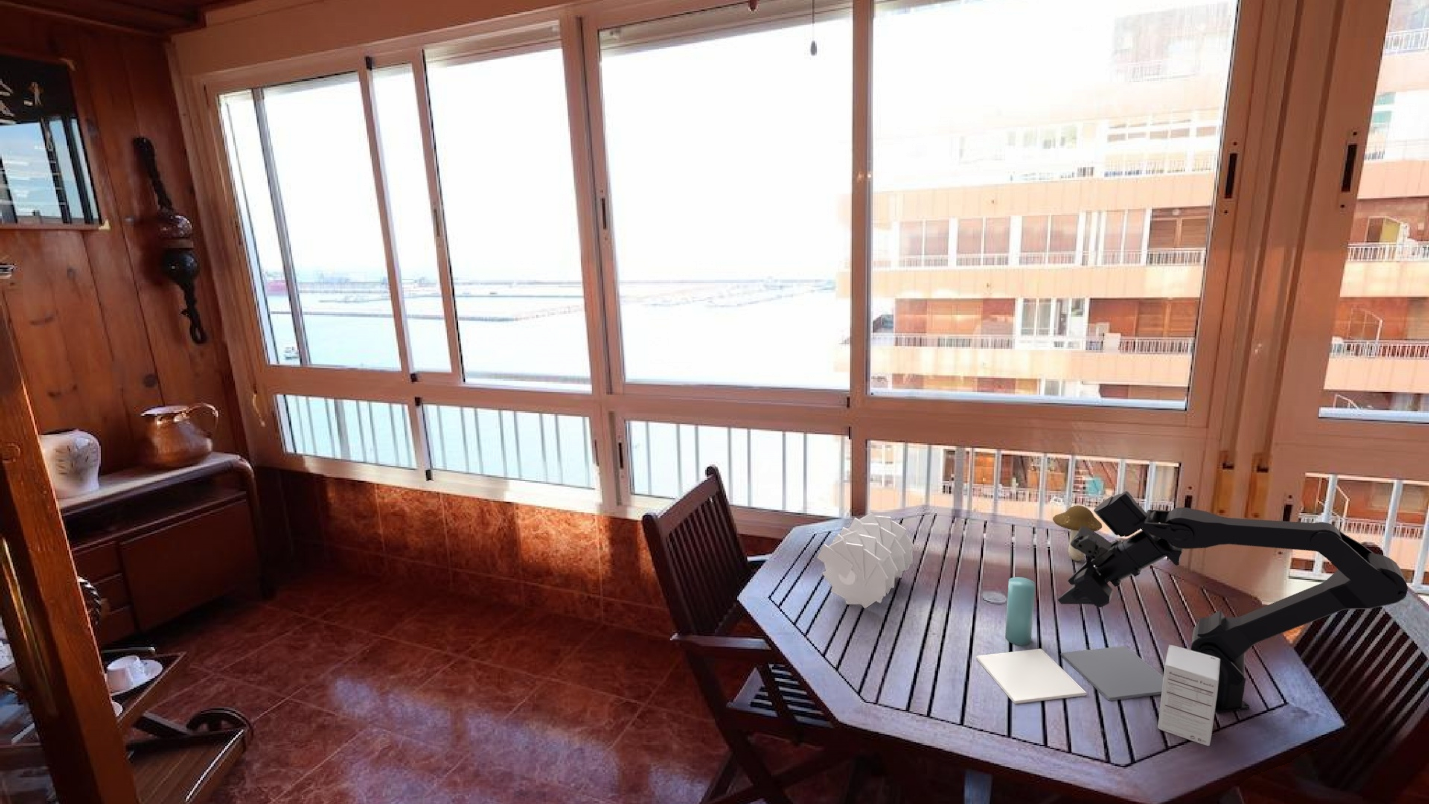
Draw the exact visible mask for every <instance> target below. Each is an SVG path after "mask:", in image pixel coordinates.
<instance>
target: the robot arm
mask: <svg viewBox="0 0 1429 804" xmlns="http://www.w3.org/2000/svg"><path fill="white" fill-rule="evenodd" d="M1093 513H1095V514H1096V516H1098V518H1099V519H1100V520H1101V521H1102V522H1103V524H1105V525H1106V526H1107V527H1108V528H1109V530H1110V531H1112V533H1113V534H1114V535H1116V536H1119V537H1120V538H1123V537H1125V538H1126V537H1128V538H1126V539H1124V540H1121V539H1119V540H1118V539H1115V540H1114V541H1111V542H1110V541H1109V540H1107V539H1106V538H1105V537H1104V536H1102V535H1101V534H1099V533H1097V531H1092V530H1091V529H1089V528H1087V527H1085V526H1082V527H1081V528H1080V530H1079V531H1078V532H1077V534H1076V535H1075V536H1074V538H1073V540H1072V541H1071V543H1070V545H1071V546H1072V547H1073V548H1075V549H1077V550H1079V551H1080V552H1082V553H1084V556H1085V555H1086V562H1085V563H1083V565H1082V566H1081V567H1080V568H1079V569H1078V570H1076V572H1074V573H1073V574H1072V575H1071V576H1070V577H1069V578H1068V579H1067V582H1068V583H1069V585H1072V586H1071V587H1069V589H1068V590H1066V591H1065V592H1064V593H1063V594H1062V595H1061V596H1059V597H1058V599H1057V601H1058V602H1059V603H1060V604H1061V605H1092V606H1093V605H1094V606H1095V607H1097V608H1100V609H1101V608H1103V607H1105V606H1107V605H1108V604H1110V601H1111V600H1112V596H1113V590H1114V589H1113V588H1112V587H1111V586H1110V585H1109V584H1108V583H1109V582H1110V584H1111V585H1113V586H1114V587H1115V588H1116V587H1118V586H1121V582H1122V581H1123V580H1125V579H1126V578H1128V577H1131V576H1133V577H1134V578H1135V577H1137V576H1139V575H1140V574H1141V571H1142V570H1144V569H1147V568H1148V567H1149V566H1152V565H1154V564H1155V563H1157V562H1159V561H1161V560H1163V559H1166V558H1167V559H1168V560H1170V561H1171V562H1172V564H1173V565H1174V566H1180V562H1181V558H1182V557H1181V556H1182V554H1183V550H1188V549H1190V550H1191V549H1193V550H1194V549H1207V548H1212V547H1217V546H1223V545H1233V546H1246V547H1247V546H1248V547H1257V548H1270V549H1271V548H1272V549H1280V550H1281V549H1282V550H1296V551H1309V552H1317V553H1319V554H1320V555H1321V556H1323V557H1324V558H1326V560H1328V561H1329V562H1330V563H1331V564H1332V565H1333V566H1334V567H1335V568H1336V569H1337V570H1335V571H1334V573H1333V574H1331V575H1330V576H1329V577H1328V578H1327V579H1326V580H1325V581H1322V582H1321V583H1318V584H1315V585H1314V586H1311V587H1309V588H1306V589H1304V590H1302V591H1299V592H1297V593H1293V594H1292V595H1289V596H1287V597H1284V598H1281V599H1280V600H1277V601H1274V602H1272V603H1270V604H1267V605H1265V606H1262V607H1259V608H1257V609H1254V610H1252V611H1249V612H1248V613H1246V614H1243V615H1241V616H1234V617H1233V616H1230V617H1229V616H1228V617H1226V616H1225V615H1224V613H1223V611H1221V610H1218V611H1216V612H1213V614H1211V615H1209V616H1206V617H1199V618H1198V623H1197V624H1195V626H1194V628H1193V631H1192V638H1191V646H1190V650H1192V651H1195V652H1199V653H1203V654H1207V655H1210V656H1214V657H1217V658H1219V659H1220V670H1219V682H1218V691H1217V699H1216V706H1215V712H1216V713H1226V712H1228V713H1229V712H1235V711H1243V710H1250V705H1249V704H1248V703H1247V702H1245V701H1244V696H1245V695H1244V694H1245V689H1246V688H1245V687H1246V681H1247V678H1246V677H1245V673H1246V671H1245V670H1246V669H1245V668H1246V667H1245V665H1246V664H1245V661H1246V660H1245V659H1246V658H1245V657H1246V654H1245V653H1247V652H1248V651H1249V650H1250V649H1251V648H1252V647H1253V646H1254V645H1256V644H1257V643H1260V642H1263V641H1266V640H1268V639H1270V638H1274V637H1276V636H1278V635H1281V634H1284V633H1286V632H1290V631H1292V630H1294V629H1297V628H1299V627H1302V626H1305V625H1308V624H1310V623H1313V622H1315V621H1318V620H1320V619H1323V618H1326V617H1328V616H1331V615H1334V614H1337V613H1339V612H1342V611H1344V610H1370V609H1376V608H1380V607H1385V606H1389V605H1394V604H1397V603H1399V602H1401V601H1403V600H1404V599H1405V598H1406V597H1407V594H1408V590H1409V587H1408V584H1407V583H1408V582H1407V581H1406V579H1405V576H1404V574H1403V572H1402V570H1401V568H1400V566H1399V565H1398V563H1397V562H1396V561H1394V560H1393V559H1391V557H1388V556H1385V555H1383V554H1379V553H1375V552H1373V551H1372V550H1370V549H1369V548H1367V547H1366V546H1365V545H1364V544H1362V543H1361V542H1359V541H1357V540H1355V539H1353V538H1352V537H1350V536H1349V535H1346V534H1345V533H1343V532H1342V530H1339V528H1338V527H1336V526H1335V525H1334V524H1332V523H1330V522H1324V521H1318V522H1303V521H1300V522H1299V521H1288V520H1287V521H1286V520H1270V519H1269V520H1268V519H1253V518H1252V519H1251V518H1237V517H1236V518H1235V517H1227V516H1226V517H1225V516H1221V515H1217V514H1215V513H1211V512H1209V511H1206V510H1200V509H1196V508H1190V507H1182V506H1181V507H1175V508H1173V509H1172V510H1167V509H1166V510H1162V509H1147V511H1146V510H1144V509H1143V507H1141V506H1140V505H1139V503H1138V502H1137V501H1136V500H1135V499H1134V497H1133V495H1132V494H1131V493H1129V491H1127V490H1126V491H1125V490H1124V491H1123V492H1122V493H1118V494H1116V495H1114V496H1113V495H1112V496H1110V497H1108V498H1106V499H1105V500H1103V501H1102V502H1101V503H1099V504H1098V505H1097V506H1096V507H1095V508H1094V509H1093ZM1139 530H1140V531H1139Z"/></svg>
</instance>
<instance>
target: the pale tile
mask: <svg viewBox="0 0 1429 804" xmlns="http://www.w3.org/2000/svg"><path fill="white" fill-rule="evenodd" d="M975 659H976V661H978V662H979V664H980V665H981V666H982V667H983V668H984V670H985V671H987V673H988V674H989V675H990V676H991V678H992V679H993V681H995V683H996V684H997V685H998V686H999V687H1000V689H1002V691H1003V692H1004V693H1005V694H1006V695H1007V697H1008V698H1009V699H1010V700H1011V702H1012V703H1013V704H1024V703H1025V704H1026V703H1033V702H1042V701H1048V700H1049V701H1050V700H1057V699H1066V698H1074V697H1084V696H1087V691H1086V690H1084V689H1083V688H1082V687H1081V686H1080V685H1079V684H1078V683H1077V681H1076V680H1074V679H1073V678H1072V677H1071V676H1070V675H1069V674H1068V673H1067V672H1066V671H1065V670H1064V669H1063V668H1062V667H1061V666H1060V665H1059V664H1057V662H1056V661H1054V659H1053V658H1052V657H1050V656H1049V654H1047V653H1046V652H1045V651H1044V650H1043V649H1042V648H1037V649H1036V648H1035V649H1027V650H1018V651H1016V650H1015V651H1010V652H1001V653H998V652H997V653H992V654H990V653H989V654H982V655H981V654H980V655H976V656H975Z"/></svg>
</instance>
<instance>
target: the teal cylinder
mask: <svg viewBox="0 0 1429 804" xmlns="http://www.w3.org/2000/svg"><path fill="white" fill-rule="evenodd" d="M1035 593H1036V583H1035V582H1034V581H1033V580H1032V579H1029V578H1026V577H1022V576H1017V577H1016V576H1013V577H1010V578H1009V579H1008V587H1007V600H1006V601H1007V602H1006V603H1007V605H1006V619H1005V632H1004V633H1005V635H1004V637H1005V638H1004V639H1006V641H1007V642H1009V643H1011V644H1012V645H1015V646H1022V647H1023V646H1028V645H1030V644H1031V643H1032V636H1033V635H1032V634H1033V623H1034V622H1033V621H1034V620H1033V619H1034V607H1035V606H1034V605H1035V595H1036V594H1035Z"/></svg>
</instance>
